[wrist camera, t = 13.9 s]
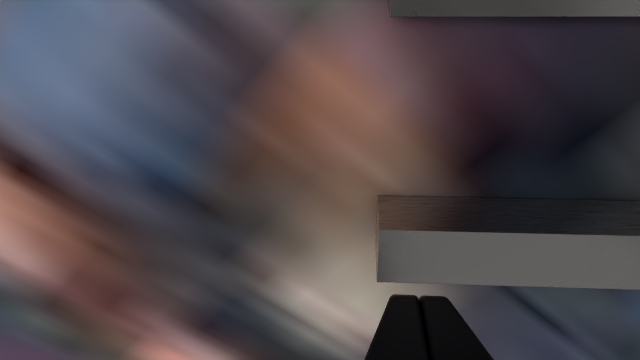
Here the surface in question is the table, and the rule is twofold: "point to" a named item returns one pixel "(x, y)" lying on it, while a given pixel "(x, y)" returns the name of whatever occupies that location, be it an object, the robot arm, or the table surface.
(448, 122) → the table surface
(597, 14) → the press bed
